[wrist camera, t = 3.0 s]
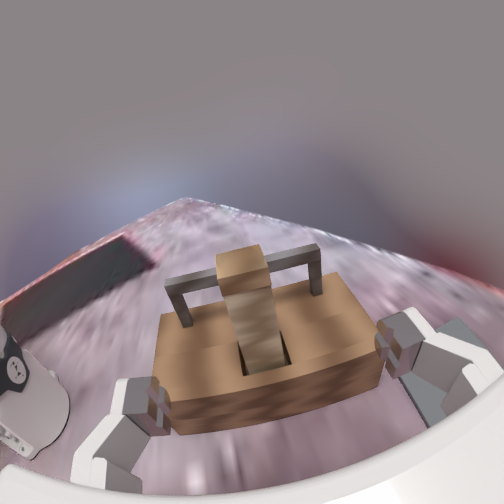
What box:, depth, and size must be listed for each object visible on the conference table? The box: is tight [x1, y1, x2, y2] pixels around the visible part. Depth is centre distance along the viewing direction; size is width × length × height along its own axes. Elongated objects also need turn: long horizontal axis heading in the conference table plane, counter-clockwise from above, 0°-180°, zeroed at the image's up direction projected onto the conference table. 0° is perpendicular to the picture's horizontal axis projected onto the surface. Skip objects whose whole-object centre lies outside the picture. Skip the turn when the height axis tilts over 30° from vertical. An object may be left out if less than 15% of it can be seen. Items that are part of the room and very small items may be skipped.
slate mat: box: [398, 317, 504, 428], centre depth 25 cm, size 14×14×1 cm
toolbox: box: [152, 243, 385, 435], centre depth 29 cm, size 24×14×14 cm, turn 99°
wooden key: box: [215, 244, 285, 375], centre depth 25 cm, size 4×4×15 cm
